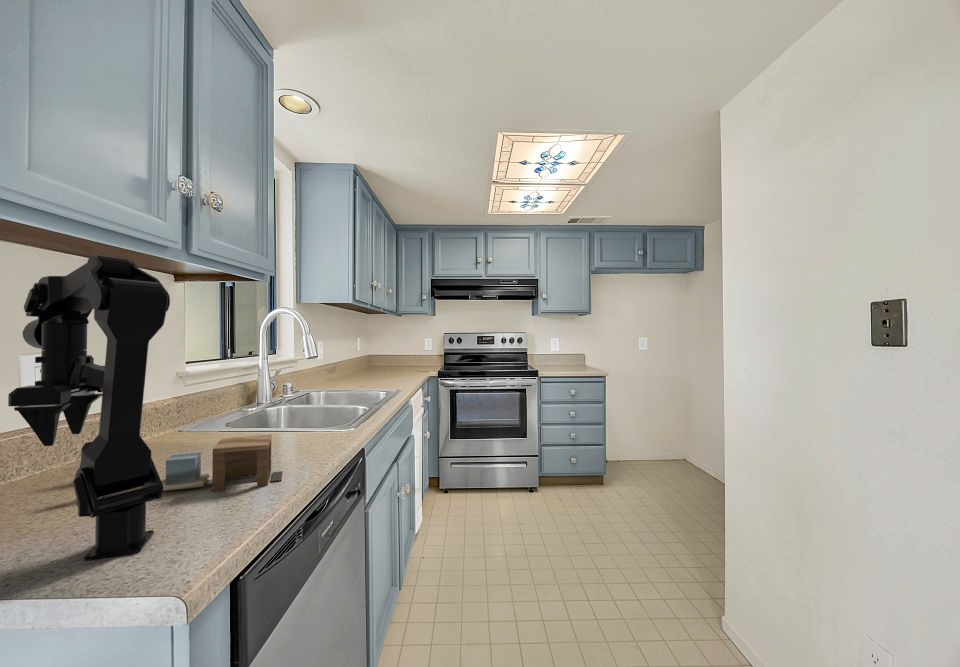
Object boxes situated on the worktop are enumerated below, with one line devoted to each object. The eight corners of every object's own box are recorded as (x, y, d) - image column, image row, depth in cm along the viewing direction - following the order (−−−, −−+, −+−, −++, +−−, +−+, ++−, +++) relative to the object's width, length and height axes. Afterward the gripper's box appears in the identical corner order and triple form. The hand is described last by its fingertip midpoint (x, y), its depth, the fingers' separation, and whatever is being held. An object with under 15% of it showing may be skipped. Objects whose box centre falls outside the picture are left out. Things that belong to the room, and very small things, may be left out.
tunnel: (267, 485, 89) (268, 444, 89) (212, 491, 86) (212, 449, 86) (271, 471, 99) (271, 434, 99) (221, 476, 95) (221, 438, 95)
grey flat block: (281, 481, 92) (281, 479, 92) (270, 482, 91) (270, 480, 91) (282, 472, 98) (282, 471, 98) (272, 473, 97) (272, 472, 97)
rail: (269, 479, 93) (269, 477, 93) (81, 500, 81) (81, 496, 81) (269, 476, 95) (269, 473, 95) (87, 495, 83) (87, 492, 83)
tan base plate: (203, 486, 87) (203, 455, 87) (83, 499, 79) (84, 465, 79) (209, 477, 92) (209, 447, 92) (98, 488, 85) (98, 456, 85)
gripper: (99, 352, 69) (97, 448, 69) (140, 348, 86) (139, 425, 86) (6, 352, 65) (5, 455, 65) (69, 348, 82) (67, 429, 82)
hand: (63, 439), depth 74 cm, fingers open, 9 cm apart
